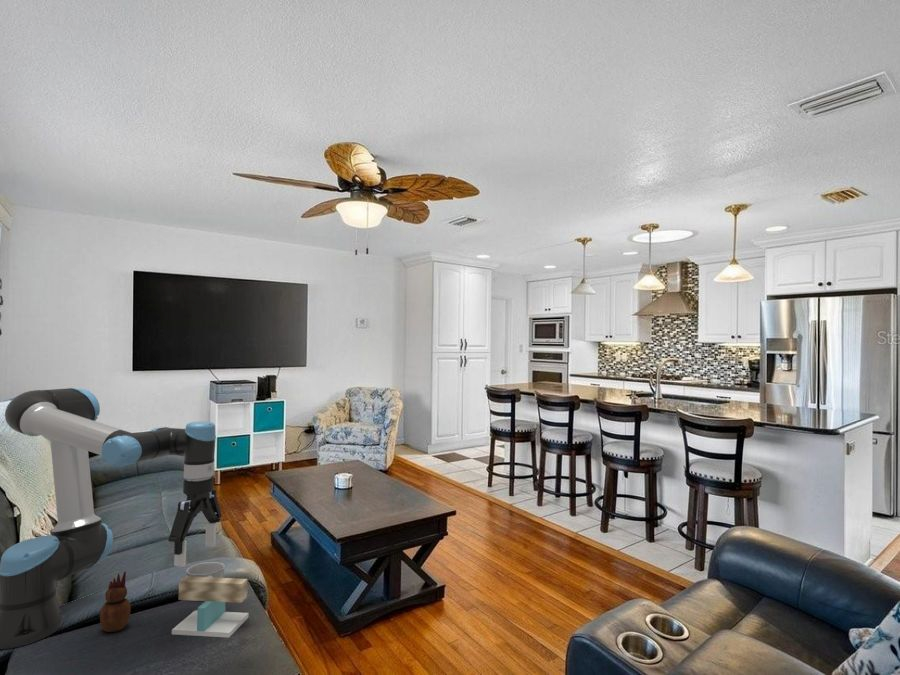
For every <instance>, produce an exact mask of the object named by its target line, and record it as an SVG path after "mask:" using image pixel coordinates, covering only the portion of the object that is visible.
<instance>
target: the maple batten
mask: <svg viewBox="0 0 900 675" xmlns="http://www.w3.org/2000/svg"><path fill="white" fill-rule="evenodd" d="M177 598H178V600H179V601H194V602H195V601H196V602H198V601H199V602H205V601H214V602H225V603H237V604H239V603H240V604H241V603H243V602H245V600H246V599H247V598H248V578H236V577H235V578H234V577H232V578H231V577H223V578H215V577H192V576H186V575H185V576H184V577H183V578H181V579H180V580H179V581H178V597H177Z"/></svg>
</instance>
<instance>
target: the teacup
mask: <svg viewBox="0 0 900 675" xmlns="http://www.w3.org/2000/svg"><path fill="white" fill-rule="evenodd" d="M225 565H226V564H224V563H222V562H219V561H206V562H199V563H195V564H193V565H191V566H189V567H188V568H186V574H185V577H186V576H192V577H215V578H225V577H224V575H225V568H226V566H225Z"/></svg>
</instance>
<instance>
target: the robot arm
mask: <svg viewBox="0 0 900 675" xmlns="http://www.w3.org/2000/svg"><path fill="white" fill-rule="evenodd" d="M100 408H101V407H100V402H99V400H98V397H97V396H96V395H95V394H94V393H92V392H91V391H90V390H87V389H86V388H75V387H74V388H73V387H67V388H57V389H56V388H55V389H36V390H35V389H34V390H29V391H26V392H23V393H21V394H19V395H17V396H15V397H14V398H12V399H11V400H10V401H9V403H8V404H7V406H6V408H5V410H4V411H5V412H4V418H5V421H6V424H7V425H8V426H9V427H10V428H11V429H12V430H13V431H15V432H17V433H20V434H23V435H25V436H29V437H38V436H41V437H43V438H44V439H46V440H47V441H49V442H50V443H49V444H50V451H51V461H52V463H51V464H52V472H53V473H52V474H53V483H54V484H53V485H54V494H55V495H54V496H55V507H56V518H57V523H56V525H55V526H54V527H53V528H52V529H51V535H48V534H47V535H40V536H36V537H33V538H32V537H30V538H28V539H25V540H22V541H19V542H18V543H16V544H13V545H12V546H10V547H9V548H7V549H5V551H4V552H3V553H2V556H1V558H0V650H7V649H13V648H14V649H15V648H19V647H23V646H27V645H30V644H33V643H36V642H38V641H40V640H43V639H45V638H47V637H50V636H51V635H53V634H54V633H56V632H57V631H58V630H59V629H60V628H61V627H62V625H63V622H64V620H63V618H64V614H63V612H62V610H61V607H60V604H59V601H58V599H57V582H59V581H62V580H63V579H66V578H68V577H71V576H73V575H76V574H77V573H80V572H82V571H85V570H88V569H91V568H93V567H94V566H95V565H98V564H100V563H101V562H102V561H104V560H105V559H106V558H107V556H108V555H109V554H110V552H111V551H112V547H113V542H114V535H113V531H112V530H111V528H110V526H109V525H107V524H106V523H105V522H104V523H103V522H102V518H101V517H100V516H98V515H97V514H95V511H94V510H95V509H94V498H93V489H92V488H93V486H92V478H91V469H90V468H91V467H90V459H89V458H90V457H89V452H91V453H93V454H96V455H99V456H101V458H102V460H103V462H105V464H106V465H107V466H109V467H111V468H112V467H113V468H118V467H119V468H120V467H128V466H130V465H133V464H137V463H141V462H142V463H143V462H145V461H149V460H154V459H159V458H163V457H169V456H179V457H184V464H183V478H184V480H183V487H182V493H183V494H185V496H186V500H185V501H179V502H178V504H177V509H176V514H175V517H174V521H173V523H172V527H171V529H170V533H169V537H168V542H169V543H170V542H172V543H174V549H173V553H174V556H173V566H174V567H183V568H184V567H185V566H186V563H187V543H188V542H187V540H186V539H185V538H186V537H187V534H188V532H189V530H190V528H191V526H192V523H193V520H194V519H195V518H196V517H197V516H198V514H200V513H201V512H202V514H203V516H204V517H205V518H206V520H207V522H206V523H205V541H204V542H205V543H204V544H205V545H204V546H205V547H215V546H216V544H217V543H216V541H217V538H216V536H217V523H220V522H221V518H222V511H221V508H220V504H219V500H218V498H217V489H216V488H214V484H215V483H214V480H215V479H214V477H213V476H214V475H215V448H216V440H217V436H216V425H215V423H214V422H212V421H193V422H189V423H186V425H185V428H179V427H178V428H176V427H166V426H163V427H154V428H152V429H151V430H150V431H144V432H143V431H142V432H138V433H133V432H130V431H127V430H123V429H121V428H119V427H118V428H117V427H114V426H111V425H107V424H106V423H102V422H99V421H97V420H98V419H99V417H98V416H100V412H101V409H100Z"/></svg>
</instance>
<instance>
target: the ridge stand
mask: <svg viewBox="0 0 900 675" xmlns="http://www.w3.org/2000/svg"><path fill="white" fill-rule="evenodd" d="M248 619H249V612H234V611H226V602H214V601H203V603H201V604H200V605H198V607H197V610H196V609H195V610H193V611H192V612H191V613H190V614H189V615H188V616H186V617H184V619H183V620H182V621H181V622H179V623H178V624H177V625H175V627H174V628H172V629H171V635H178V636H193V637H194V636H195V637H212V638H213V637H215V638H228V639H229V638H231V636H232V635H233V634H234V633H236V631H238V629H239V628H240V627H241V626H242V625H244V623H245V622H246V621H247V620H248Z"/></svg>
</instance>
